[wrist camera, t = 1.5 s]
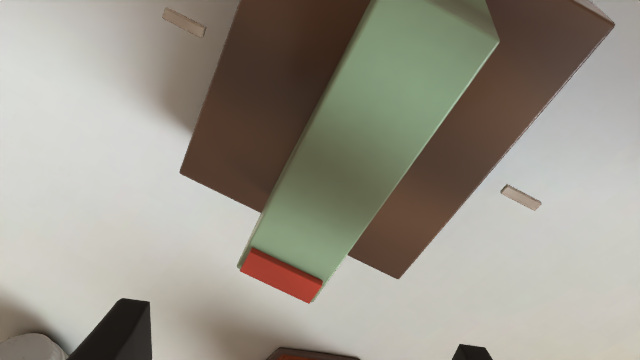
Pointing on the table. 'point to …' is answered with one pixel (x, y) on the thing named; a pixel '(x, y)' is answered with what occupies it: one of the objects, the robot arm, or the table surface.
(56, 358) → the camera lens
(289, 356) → the model
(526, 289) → the table surface
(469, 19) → the mint green brick
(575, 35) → the brown piece
